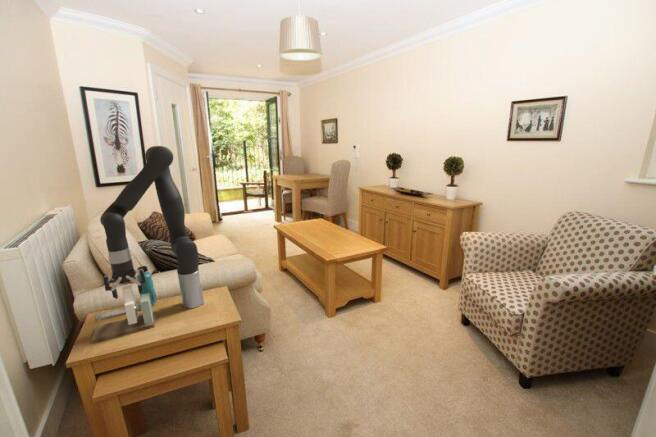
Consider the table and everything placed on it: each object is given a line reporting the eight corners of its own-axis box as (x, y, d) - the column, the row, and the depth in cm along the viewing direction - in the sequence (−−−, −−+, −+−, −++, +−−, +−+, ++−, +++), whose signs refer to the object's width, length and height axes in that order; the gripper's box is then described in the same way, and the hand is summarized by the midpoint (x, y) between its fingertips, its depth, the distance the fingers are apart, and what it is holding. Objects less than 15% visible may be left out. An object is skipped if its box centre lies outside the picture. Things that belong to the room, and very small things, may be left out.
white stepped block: (138, 312, 138) (131, 281, 135) (137, 322, 131) (130, 290, 127) (130, 314, 137) (123, 283, 133) (128, 324, 129) (121, 292, 125)
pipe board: (155, 314, 143) (154, 311, 142) (154, 327, 133) (154, 323, 133) (97, 329, 133) (96, 326, 133) (92, 343, 124) (91, 340, 123)
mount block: (153, 313, 141) (149, 292, 138) (152, 322, 134) (148, 300, 131) (145, 315, 139) (141, 294, 137) (144, 324, 133) (140, 302, 130)
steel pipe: (147, 307, 137) (146, 301, 136) (146, 310, 134) (145, 304, 133) (97, 319, 129) (96, 312, 128) (96, 322, 126) (94, 316, 126)
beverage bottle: (150, 309, 148) (143, 270, 143) (138, 308, 149) (130, 269, 144) (160, 302, 154) (153, 264, 149) (149, 301, 155) (141, 264, 150)
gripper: (141, 253, 133) (148, 287, 137) (101, 260, 127) (109, 295, 131) (140, 258, 127) (147, 294, 131) (98, 266, 121) (107, 303, 125)
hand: (128, 295), depth 131 cm, fingers open, 8 cm apart
